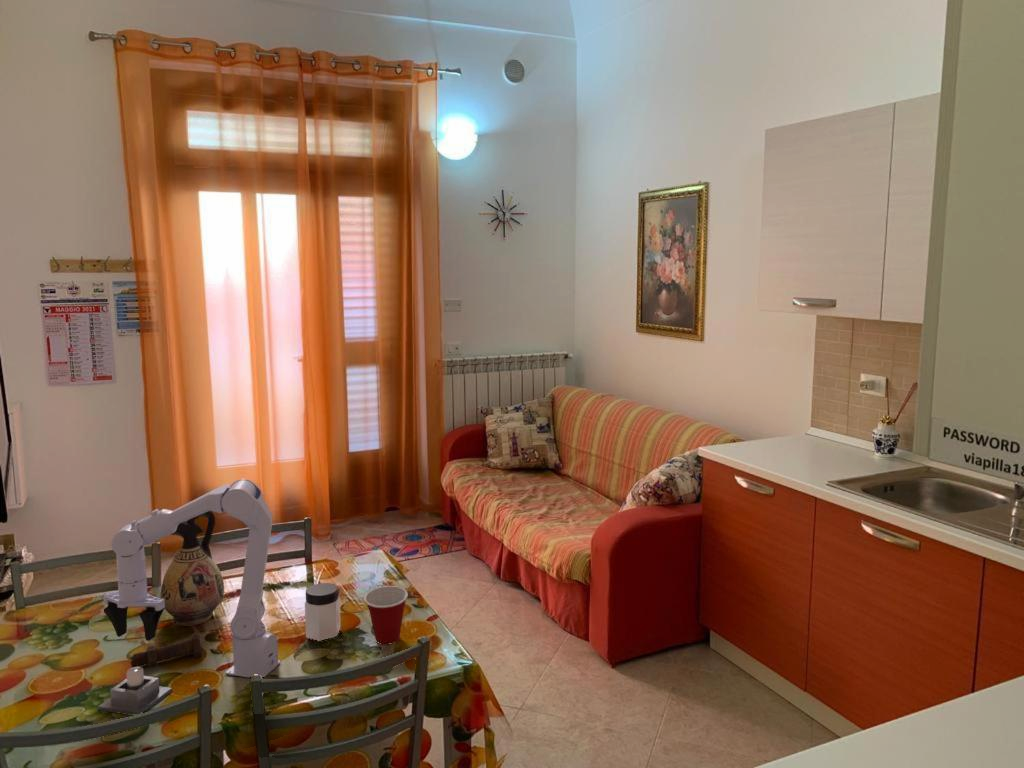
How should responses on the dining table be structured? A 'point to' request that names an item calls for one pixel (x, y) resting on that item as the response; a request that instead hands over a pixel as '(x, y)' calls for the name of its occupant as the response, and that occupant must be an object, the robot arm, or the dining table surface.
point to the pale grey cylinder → (135, 678)
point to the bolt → (167, 652)
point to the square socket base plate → (135, 697)
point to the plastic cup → (386, 612)
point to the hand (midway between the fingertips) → (136, 636)
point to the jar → (322, 611)
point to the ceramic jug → (193, 576)
